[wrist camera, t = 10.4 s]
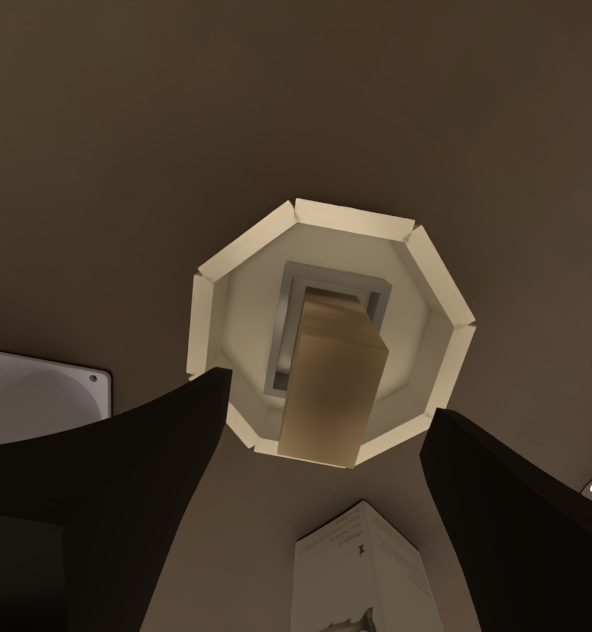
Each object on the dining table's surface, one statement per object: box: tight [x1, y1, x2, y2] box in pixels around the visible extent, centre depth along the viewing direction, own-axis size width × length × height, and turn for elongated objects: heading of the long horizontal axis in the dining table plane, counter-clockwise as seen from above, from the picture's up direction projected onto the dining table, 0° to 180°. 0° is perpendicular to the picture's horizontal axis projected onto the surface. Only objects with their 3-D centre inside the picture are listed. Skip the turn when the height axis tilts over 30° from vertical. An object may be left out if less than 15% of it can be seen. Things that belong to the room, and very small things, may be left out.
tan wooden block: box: [277, 286, 389, 469], centre depth 15 cm, size 3×5×8 cm, turn 170°
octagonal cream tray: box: [186, 198, 476, 468], centre depth 18 cm, size 14×14×4 cm
